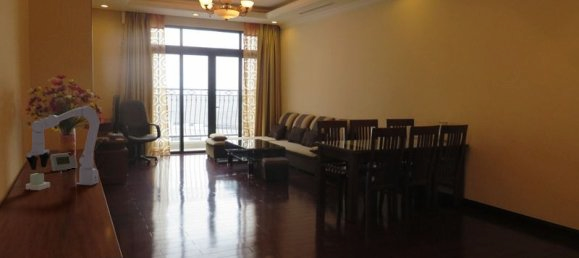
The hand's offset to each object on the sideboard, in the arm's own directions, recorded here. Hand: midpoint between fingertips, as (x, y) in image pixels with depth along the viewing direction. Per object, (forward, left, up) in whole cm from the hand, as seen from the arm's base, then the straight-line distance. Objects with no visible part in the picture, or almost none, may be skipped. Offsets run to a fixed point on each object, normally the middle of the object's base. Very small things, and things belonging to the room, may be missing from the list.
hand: (38, 168), depth 228 cm
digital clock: (+17, -45, -11) cm, 49 cm away
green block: (0, +2, -8) cm, 8 cm away
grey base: (-1, +1, -11) cm, 11 cm away
